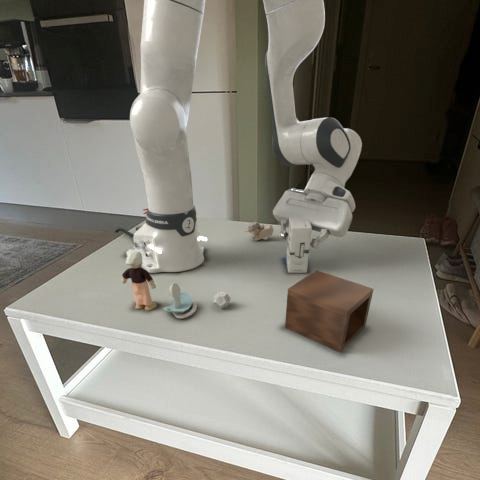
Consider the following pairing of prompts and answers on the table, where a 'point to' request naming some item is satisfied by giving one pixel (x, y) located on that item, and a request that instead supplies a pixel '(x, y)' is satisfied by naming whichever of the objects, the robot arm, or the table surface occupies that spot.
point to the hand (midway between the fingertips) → (297, 242)
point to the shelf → (328, 309)
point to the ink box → (298, 245)
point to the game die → (222, 300)
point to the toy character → (260, 230)
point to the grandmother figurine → (139, 281)
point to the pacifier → (180, 302)
